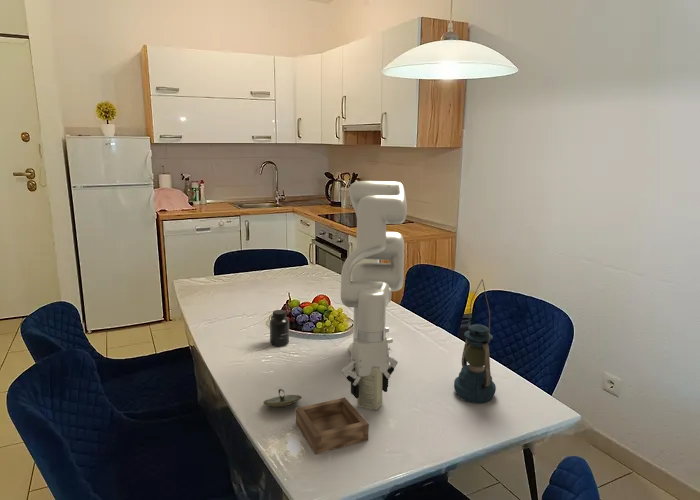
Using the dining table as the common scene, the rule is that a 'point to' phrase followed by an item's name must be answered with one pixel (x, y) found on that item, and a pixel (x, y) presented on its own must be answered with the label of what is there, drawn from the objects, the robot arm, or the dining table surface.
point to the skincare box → (370, 390)
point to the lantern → (476, 365)
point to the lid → (282, 400)
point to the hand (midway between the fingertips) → (369, 392)
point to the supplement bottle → (279, 329)
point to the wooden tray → (331, 425)
